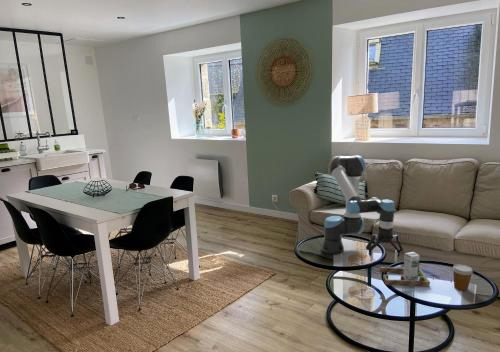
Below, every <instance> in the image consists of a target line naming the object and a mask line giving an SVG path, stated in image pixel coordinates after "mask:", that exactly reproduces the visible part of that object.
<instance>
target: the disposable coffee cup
mask: <svg viewBox="0 0 500 352" xmlns="http://www.w3.org/2000/svg"><path fill="white" fill-rule="evenodd" d="M452 270H453V271H452V272H453V288H454V289H455V290H456V291H460V292H467V291H468V289H469V287H470V283H471V277H472V275H473V273H474V271H473V268H472V267H470V266H469V265H465V264H460V263H459V264H458V263H457V264H454V265H453V267H452Z"/></svg>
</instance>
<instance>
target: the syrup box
mask: <svg viewBox="0 0 500 352" xmlns="http://www.w3.org/2000/svg"><path fill="white" fill-rule="evenodd" d="M420 256H421V255H420V254H419V253H416V252H415V251H411V252H410V251H409V252H404V262H403V263H404V264H403V268H404V273H403V276H407V280H419V276H420V275H419V269H420V258H421V257H420Z"/></svg>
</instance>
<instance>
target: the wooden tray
mask: <svg viewBox="0 0 500 352" xmlns="http://www.w3.org/2000/svg"><path fill="white" fill-rule="evenodd" d="M383 272H393V273H392V274H404V267H391V266H390V267H389V266H388V267H387V266H380V267H379V273H383ZM382 280H383V282H384V284H385V286H399V287H417V288H418V287H419V288H420V287H421V288H424V287H425V288H430V284H431V281H430V280H429V279H428V277H427V275H426V274H425V273H424V272H423V270H422V269H421V268H419V276H418V280H415V279H412V280H409V279H408V278H407V276H404V275H400V279H391V278H389V275H388V274H384V273H383V279H382Z"/></svg>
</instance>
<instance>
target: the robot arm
mask: <svg viewBox="0 0 500 352" xmlns="http://www.w3.org/2000/svg"><path fill="white" fill-rule="evenodd" d="M366 169H367V168H366V161H365V160H364V158H363V157H362V156H361V155H343V156H342V155H340V156H337V157H334V158H333V159H332V161H331V162H330V165H329V172H330V175H331V178H333V179H334V180H335V181H336V183H337V185H338V186H339V188H340V191H341V192H342V194H343V196H344V197H345V213H343V217H342V216H341V215H331V216H327V217H326V218H325V219H324V224H323V227H324V229H323V230H324V234H323V236H324V237H323V241H322V244H321V252H323V253H325V254H329V255H340V254H343V253H344V252H345V247H344V243H343V240H342V237H343V236H348V235H349V236H350V235H359V234H362V233H363V231H364V230H365V220H364V218H363V217H362V215H361V214H367V213H377V214H379V221H378V232H377V233H378V234H375V233H372V235H371V238H370V240H369V241H368V243H367V245H366V246H365V249H366V250H367V251H368V255H369V259H370V262H371V263H372V262H373V258H374V249H376V247H378V245H379V244H381V243H382V244H384V243H386V244H391V246H392V247H393V248H394V249H395V251H394V260H393V261H394V262H395V264H398V258H400V253H401V252H404V248H403V246H402V244H401V242H400V240H399V236H398V234H395V235H394V234H393V232H394V219H395V209H396V207H395V201H394V200H391V199H381V198H379V197H376V196H373V197H371V198H369V199H362V198H361V197H360V179H361V178H362V176H363V174H364V173H365V172H366ZM375 239H376V240H375ZM393 239H394V240H395V241H396V243H397V245H396V244H395V243H394V242H393V241H392V240H393ZM374 241H375V242H374ZM398 247H399V248H398Z"/></svg>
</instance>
